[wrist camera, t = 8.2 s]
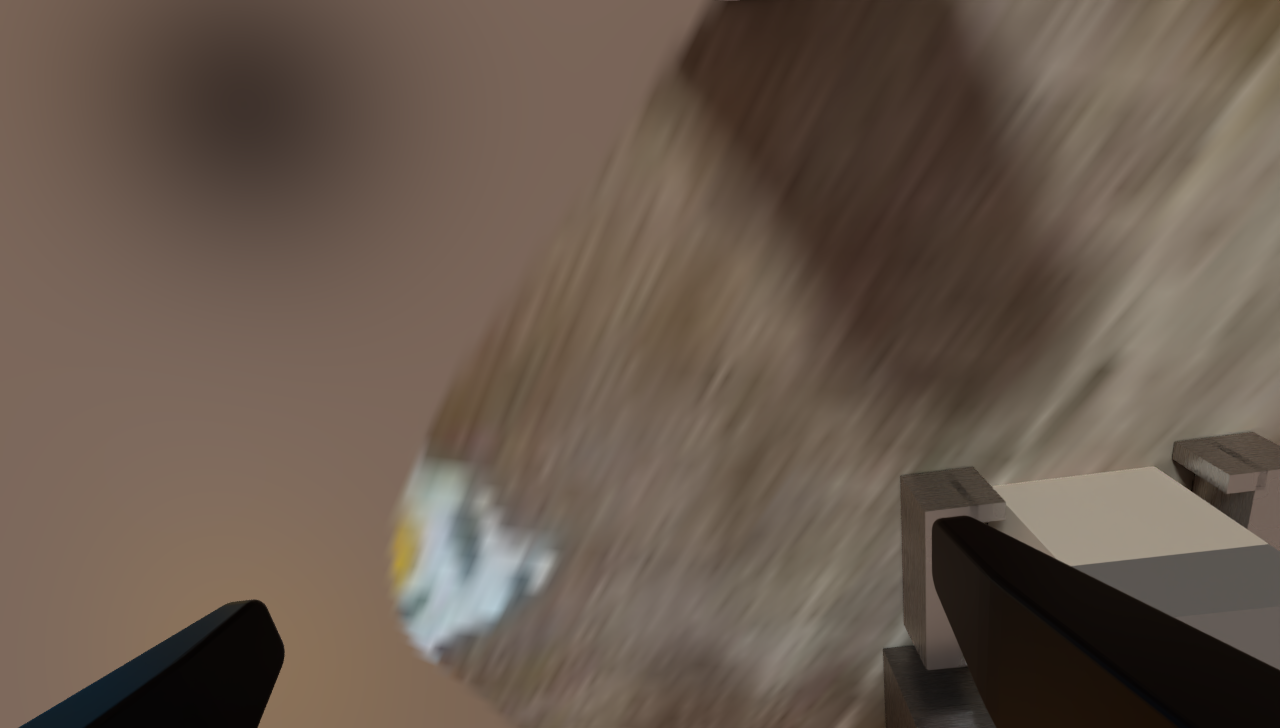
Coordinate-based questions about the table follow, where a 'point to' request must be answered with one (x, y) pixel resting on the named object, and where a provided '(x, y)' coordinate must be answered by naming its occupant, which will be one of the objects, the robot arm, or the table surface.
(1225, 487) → the knobbed block assembly
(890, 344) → the table surface
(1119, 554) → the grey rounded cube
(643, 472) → the table surface
